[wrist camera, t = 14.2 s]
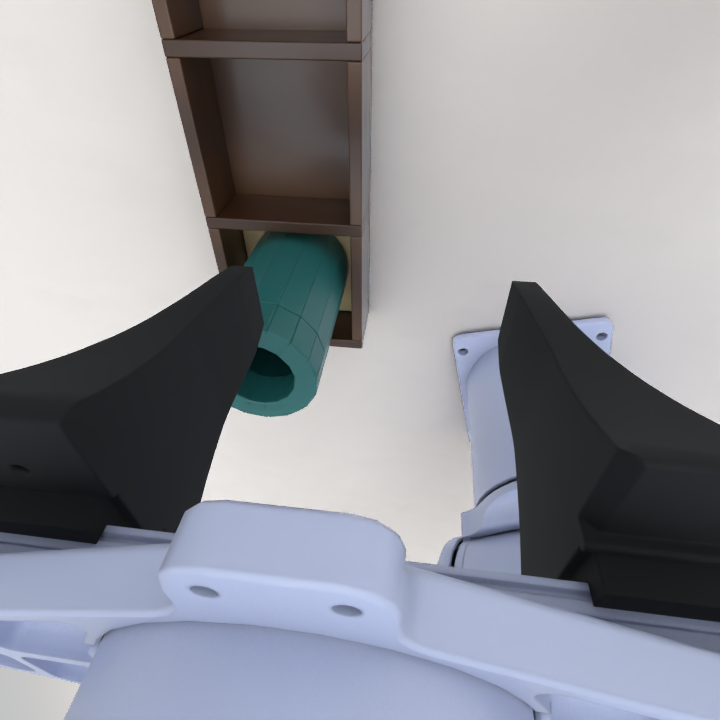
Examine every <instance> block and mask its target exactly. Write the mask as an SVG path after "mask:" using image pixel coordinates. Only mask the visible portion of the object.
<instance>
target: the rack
mask: <svg viewBox="0 0 720 720" xmlns="http://www.w3.org/2000/svg"><path fill="white" fill-rule="evenodd" d="M152 4H153V8H154V12H155V16H156V20H157V24H158V28H159V32H160V36H161V38H162V44H163V48H164V52H165V56H166V57H167V58H166V60H167V64H168V68H169V72H170V76H171V80H172V84H173V88H174V92H175V96H176V100H177V104H178V108H179V112H180V116H181V121H182V125H183V129H184V133H185V137H186V141H187V145H188V149H189V153H190V157H191V161H192V165H193V169H194V173H195V177H196V181H197V185H198V189H199V193H200V197H201V201H202V205H203V209H204V213H205V216H206V221H207V225H208V228H209V233H210V237H211V241H212V246H213V250H214V254H215V258H216V262H217V266H218V270H219V273H221V272H222V271H224V270H225V269H227V268H229V267H231V266H244V264H245V263H246V261H247V259H248V258H249V256H250V254H251V253H252V251H253V249H254V248H255V246H256V244H257V243H258V241H259V240H260V238H261V237H262V236H263V234H264V233H265V232H266V231H270V232H287V233H303V234H320V235H333V236H334V237H335V238H336V239H337V240H338V241H339V243H340V244H341V246H342V247H343V249H344V251H345V254H346V256H347V260H348V275H347V279H346V285H345V289H344V293H343V297H342V300H341V304H340V308H339V311H338V315H337V319H336V322H335V326H334V330H333V333H332V337H331V341H330V345H329V346H337V347H349V348H362V345H363V340H364V334H365V329H366V324H367V318H368V313H369V238H370V161H371V85H372V8H373V0H152Z"/></svg>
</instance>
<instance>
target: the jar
mask: <svg viewBox="0 0 720 720" xmlns="http://www.w3.org/2000/svg"><path fill="white" fill-rule="evenodd" d="M244 266H247V267H253V271H254V276H255V281H256V286H257V290H258V295H259V300H260V305H261V310H262V315H263V320H264V327H263V330H262V334H261V338H260V341H259V344H258V348H257V351H256V354H255V356H254V358H253V360H252V363H251V365H250V367H249V369H248V371H247V374H246V376H245V378H244V380H243V382H242V384H241V387H240V389H239V391H238V393H237V395H236V397H235V399H234V402H233V404H232V406H231V407H234V408H236V409H238V410H240V411H243V412H247V413H249V414H255V415H260V416H266V417H268V416H269V417H273V416H285V415H289V414H292V413H294V412H296V411H299V410H301V409H303V408H304V407H306V406H307V405H308V404H309V403H310V401H311V400H312V399H313V398H314V396H315V395H316V392H317V389H318V385H319V381H320V378H321V374H322V370H323V366H324V363H325V359H326V356H327V352H328V348H329V345H330V341H331V337H332V333H333V330H334V326H335V322H336V319H337V315H338V311H339V308H340V304H341V300H342V297H343V293H344V289H345V285H346V279H347V275H348V260H347V256H346V254H345V251H344V249H343V247H342V246H341V244H340V243H339V241H338V240H337V239H336V238H335V237H334V236H333V235H320V234H303V233H287V232H270V231H266V232H265V233H264V234H263V236H262V237H261V238H260V240H259V241H258V243H257V244H256V246H255V248H254V249H253V251H252V253H251V254H250V256H249V258H248V259H247V261H246V263H245V264H244Z"/></svg>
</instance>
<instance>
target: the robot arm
mask: <svg viewBox="0 0 720 720" xmlns="http://www.w3.org/2000/svg"><path fill="white" fill-rule="evenodd" d="M263 327H264V320H263V315H262V310H261V305H260V300H259V295H258V290H257V286H256V281H255V276H254V271H253V267H247V266H231V267H229V268H227V269H225V270H224V271H222V272H221V273H219V274H218V275H216V276H215V277H213V278H212V279H210V280H209V281H207V282H206V283H204V284H203V285H201V286H200V287H198V288H197V289H195V290H194V291H192V292H191V293H189V294H188V295H186V296H185V297H183V298H182V299H180V300H179V301H177V302H175V303H174V304H172V305H171V306H169V307H167V308H166V309H164V310H162V311H161V312H159V313H157V314H156V315H154V316H152V317H151V318H149V319H147V320H145V321H143V322H142V323H140V324H138V325H136V326H134V327H132V328H130V329H128V330H126V331H124V332H122V333H120V334H117V335H115V336H113V337H111V338H108V339H106V340H103V341H101V342H98V343H96V344H94V345H91V346H89V347H86V348H84V349H81V350H79V351H76V352H73V353H70V354H68V355H65V356H62V357H59V358H56V359H53V360H49V361H46V362H43V363H40V364H37V365H33V366H30V367H26V368H23V369H19V370H15V371H11V372H7V373H3V374H0V666H1V667H6V668H10V669H15V670H20V671H24V672H29V673H33V674H38V675H43V676H47V677H51V678H56V679H61V680H66V681H70V682H74V683H79V684H81V685H80V687H79V689H78V691H77V693H76V695H75V697H74V699H73V701H72V703H71V705H70V708H69V710H68V712H67V714H66V716H65V718H64V720H720V425H719V424H717V423H715V422H713V421H711V420H710V419H708V418H706V417H704V416H702V415H700V414H698V413H696V412H694V411H692V410H691V409H689V408H687V407H685V406H683V405H682V404H680V403H678V402H676V401H675V400H673V399H671V398H670V397H668V396H666V395H665V394H663V393H662V392H660V391H658V390H657V389H655V388H654V387H652V386H650V385H649V384H647V383H646V382H644V381H643V380H641V379H640V378H638V377H637V376H636V375H634V374H633V373H631V372H630V371H629V370H627V369H626V368H625V367H623V366H622V365H621V364H619V363H618V362H617V361H616V360H614V359H613V358H612V357H610V349H611V341H612V333H613V324H612V322H611V320H610V319H609V318H606V317H599V318H590V319H582V320H574V321H571V320H570V319H569V318H568V317H567V315H566V314H565V313H564V312H563V311H562V310H561V309H560V308H559V307H558V306H557V305H556V304H555V302H554V301H553V300H552V299H551V298H550V297H549V296H548V295H547V294H546V293H545V291H544V290H543V289H542V288H541V287H540V286H539V285H538V284H537V283H536V282H520V281H512V285H511V289H510V293H509V297H508V301H507V305H506V309H505V313H504V317H503V321H502V325H501V329H500V330H491V331H483V332H475V333H467V334H460V335H457V336H455V337H454V339H453V349H454V355H455V361H456V367H457V372H458V378H459V384H460V390H461V396H462V402H463V407H464V413H465V419H466V425H467V431H468V437H469V441H470V443H471V458H472V474H473V490H474V506H475V508H474V509H471V510H469V511H466V512H462V513H461V528H462V536H461V537H455V538H453V539H451V540H449V541H448V542H447V543H446V545H445V546H444V548H443V550H442V552H441V554H440V558H439V561H438V564H437V565H435V564H426V563H418V562H410V561H405V557H406V549H405V547H404V545H403V542H402V540H401V538H400V536H399V535H398V534H397V533H396V532H395V531H394V530H392V529H390V528H389V527H387V526H385V525H384V524H382V523H380V522H379V521H377V520H374V519H370V518H366V517H362V516H358V515H354V514H349V513H340V512H331V511H322V510H313V509H304V508H295V507H286V506H277V505H268V504H258V503H249V502H240V501H231V500H217V501H203V502H201V499H202V495H203V491H204V487H205V483H206V480H207V476H208V473H209V470H210V466H211V463H212V459H213V456H214V453H215V450H216V447H217V443H218V440H219V437H220V434H221V431H222V428H223V425H224V422H225V420H226V417H227V415H228V413H229V410H230V408H231V406H232V404H233V402H234V399H235V397H236V395H237V393H238V391H239V389H240V387H241V384H242V382H243V380H244V378H245V376H246V374H247V371H248V369H249V367H250V365H251V363H252V360H253V358H254V356H255V354H256V351H257V348H258V344H259V341H260V338H261V334H262V330H263ZM599 333H604V334H603V335H600V336H597V335H598V334H599ZM462 348H465V349H466V350H464V351H461V350H460V349H462ZM200 502H201V503H200Z"/></svg>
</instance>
